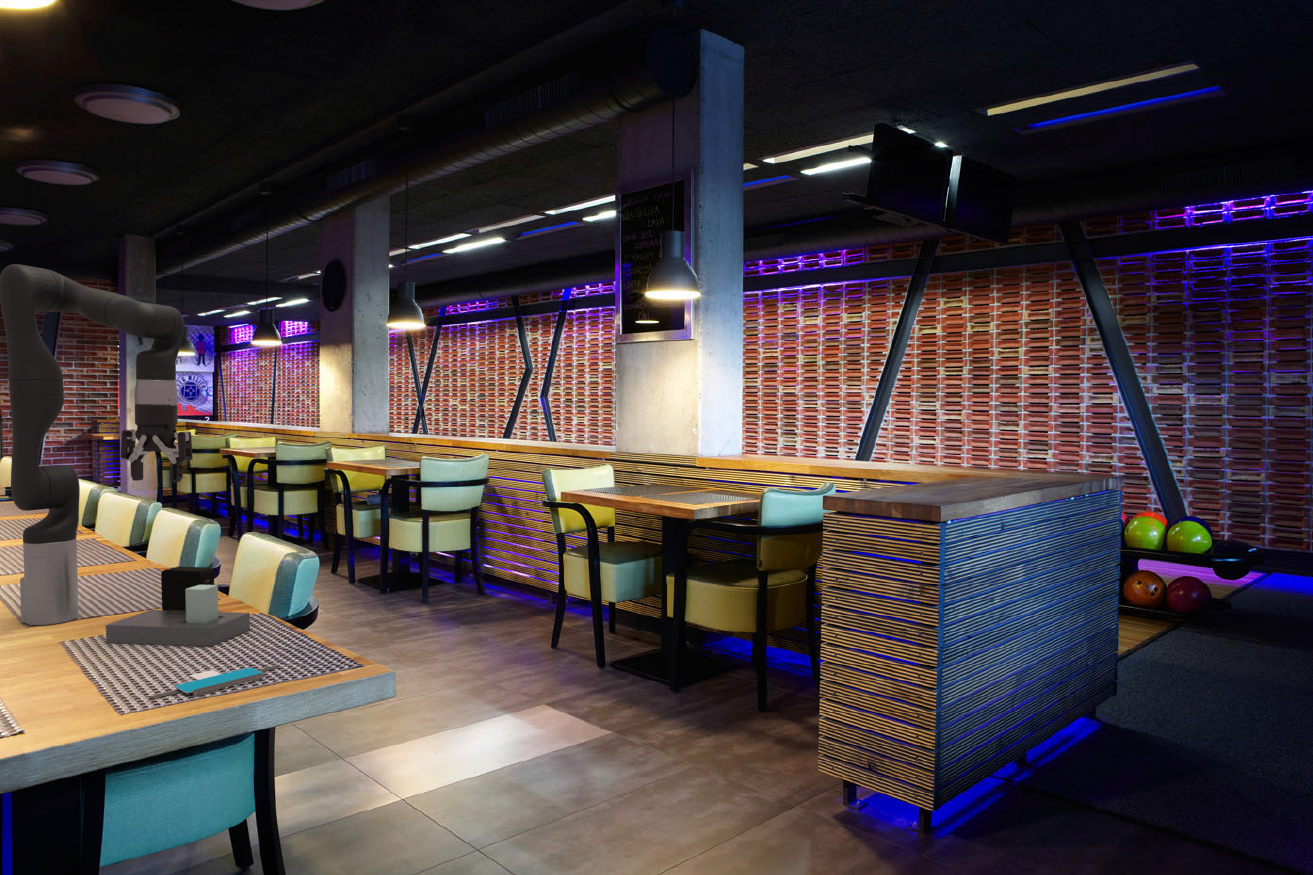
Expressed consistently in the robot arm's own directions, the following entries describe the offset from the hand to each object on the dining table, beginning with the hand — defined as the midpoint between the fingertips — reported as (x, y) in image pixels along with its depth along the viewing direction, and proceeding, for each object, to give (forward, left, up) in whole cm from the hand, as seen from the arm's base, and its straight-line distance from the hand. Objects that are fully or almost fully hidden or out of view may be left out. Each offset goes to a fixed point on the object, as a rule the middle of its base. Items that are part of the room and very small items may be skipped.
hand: (156, 481), depth 169 cm
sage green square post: (+14, -5, -30) cm, 34 cm away
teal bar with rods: (+33, -29, -31) cm, 54 cm away
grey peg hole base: (+9, -5, -30) cm, 32 cm away
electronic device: (-2, +12, -31) cm, 33 cm away
